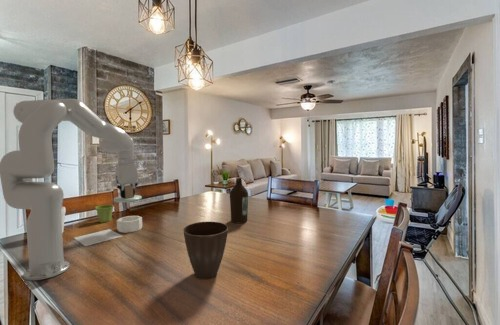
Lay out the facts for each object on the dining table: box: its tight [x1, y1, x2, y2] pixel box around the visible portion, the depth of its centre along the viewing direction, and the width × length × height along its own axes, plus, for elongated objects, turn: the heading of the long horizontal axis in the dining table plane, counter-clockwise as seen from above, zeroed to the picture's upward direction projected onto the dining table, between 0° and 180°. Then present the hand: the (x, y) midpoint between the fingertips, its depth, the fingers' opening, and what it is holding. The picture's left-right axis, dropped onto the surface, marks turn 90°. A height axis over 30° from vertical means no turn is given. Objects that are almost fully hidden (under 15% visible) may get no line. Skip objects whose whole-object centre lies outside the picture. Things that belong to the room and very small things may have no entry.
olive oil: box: [229, 177, 249, 224], centre depth 148 cm, size 11×11×25 cm
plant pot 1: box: [95, 204, 115, 224], centre depth 150 cm, size 9×9×9 cm
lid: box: [113, 184, 143, 203], centre depth 132 cm, size 13×13×7 cm
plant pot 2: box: [182, 221, 229, 280], centre depth 88 cm, size 15×15×16 cm
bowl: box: [116, 215, 143, 234], centre depth 134 cm, size 11×11×6 cm
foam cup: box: [61, 206, 66, 234], centre depth 127 cm, size 10×9×13 cm
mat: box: [73, 228, 123, 247], centre depth 123 cm, size 16×16×1 cm
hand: (127, 196), depth 133 cm, fingers closed on lid, 4 cm apart
